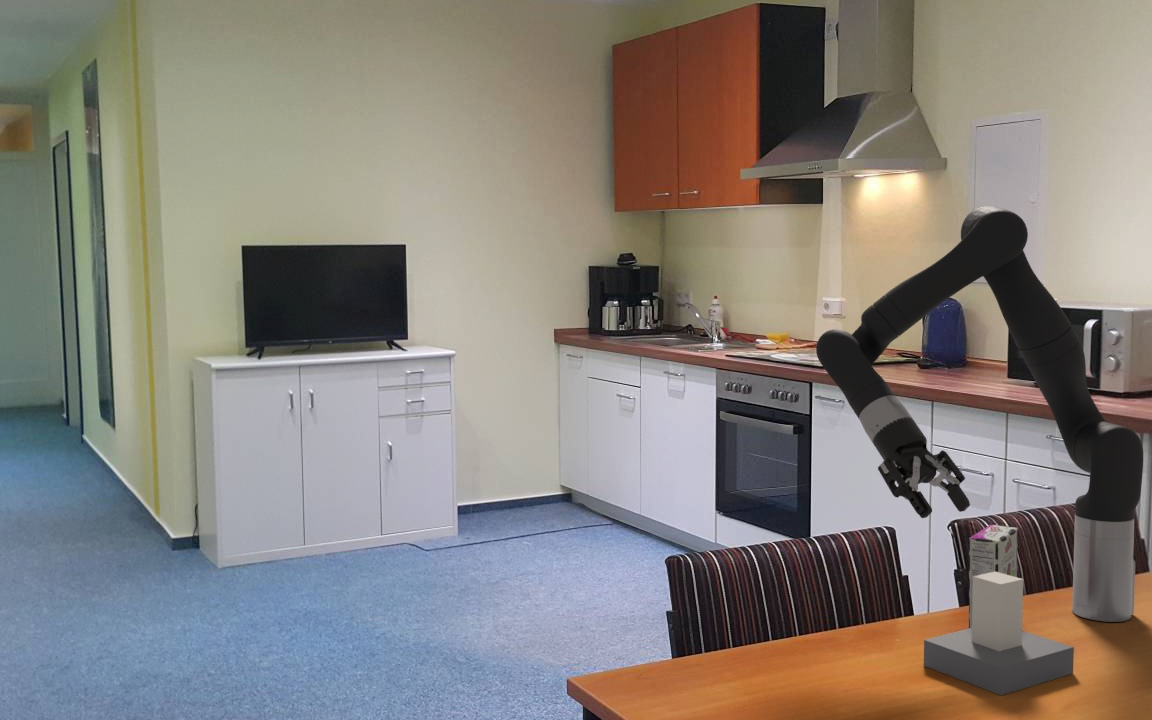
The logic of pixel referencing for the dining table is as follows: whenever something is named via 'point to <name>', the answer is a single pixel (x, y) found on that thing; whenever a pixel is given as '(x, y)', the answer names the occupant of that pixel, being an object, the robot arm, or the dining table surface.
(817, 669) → the dining table surface
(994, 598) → the cream block
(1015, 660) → the base board
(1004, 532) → the candy bar box
